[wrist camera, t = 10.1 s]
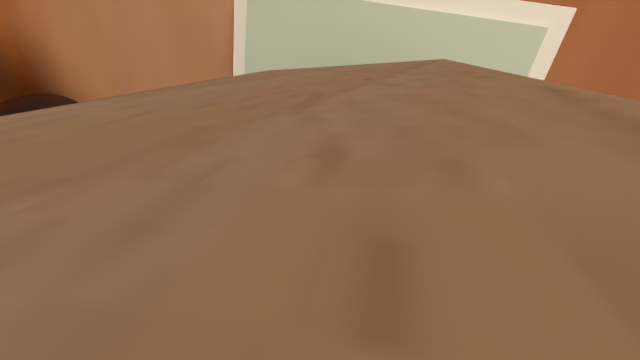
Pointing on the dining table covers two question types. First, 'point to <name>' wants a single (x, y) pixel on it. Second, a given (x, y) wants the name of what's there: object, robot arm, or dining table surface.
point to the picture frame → (397, 33)
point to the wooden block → (325, 220)
